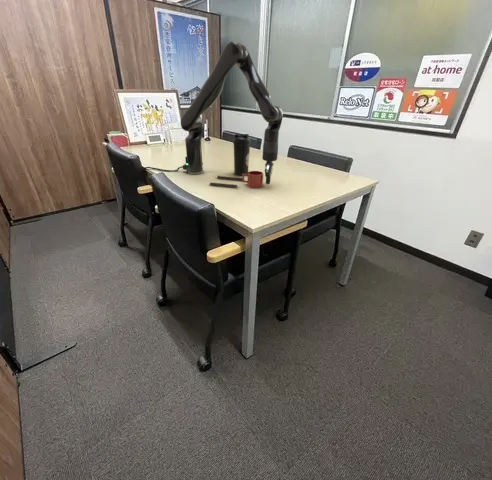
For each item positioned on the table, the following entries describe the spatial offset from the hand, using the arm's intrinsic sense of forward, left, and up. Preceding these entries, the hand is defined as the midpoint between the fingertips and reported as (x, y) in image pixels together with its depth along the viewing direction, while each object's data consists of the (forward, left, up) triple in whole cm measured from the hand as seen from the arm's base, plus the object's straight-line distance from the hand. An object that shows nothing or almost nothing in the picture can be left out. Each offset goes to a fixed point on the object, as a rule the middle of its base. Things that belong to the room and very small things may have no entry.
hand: (267, 183), depth 141 cm
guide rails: (-23, 0, -2) cm, 23 cm away
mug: (-9, 0, -2) cm, 9 cm away
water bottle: (-19, +19, -2) cm, 27 cm away
